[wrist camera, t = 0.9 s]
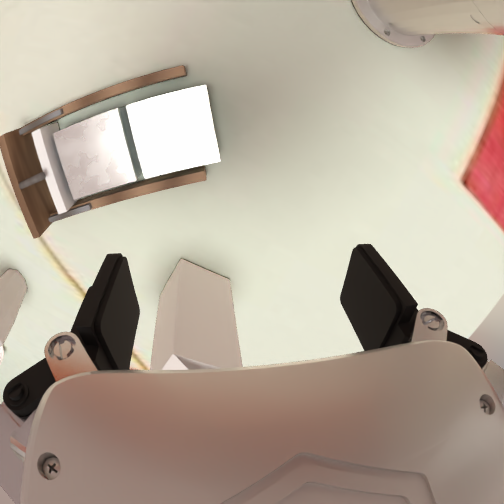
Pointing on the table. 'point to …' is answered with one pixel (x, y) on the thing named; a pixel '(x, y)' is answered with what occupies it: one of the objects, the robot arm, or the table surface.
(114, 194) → the lane
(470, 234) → the table surface
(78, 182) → the white square block
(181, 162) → the tin
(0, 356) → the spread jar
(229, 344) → the milk carton
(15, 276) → the faceted bottle
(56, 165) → the pusher
